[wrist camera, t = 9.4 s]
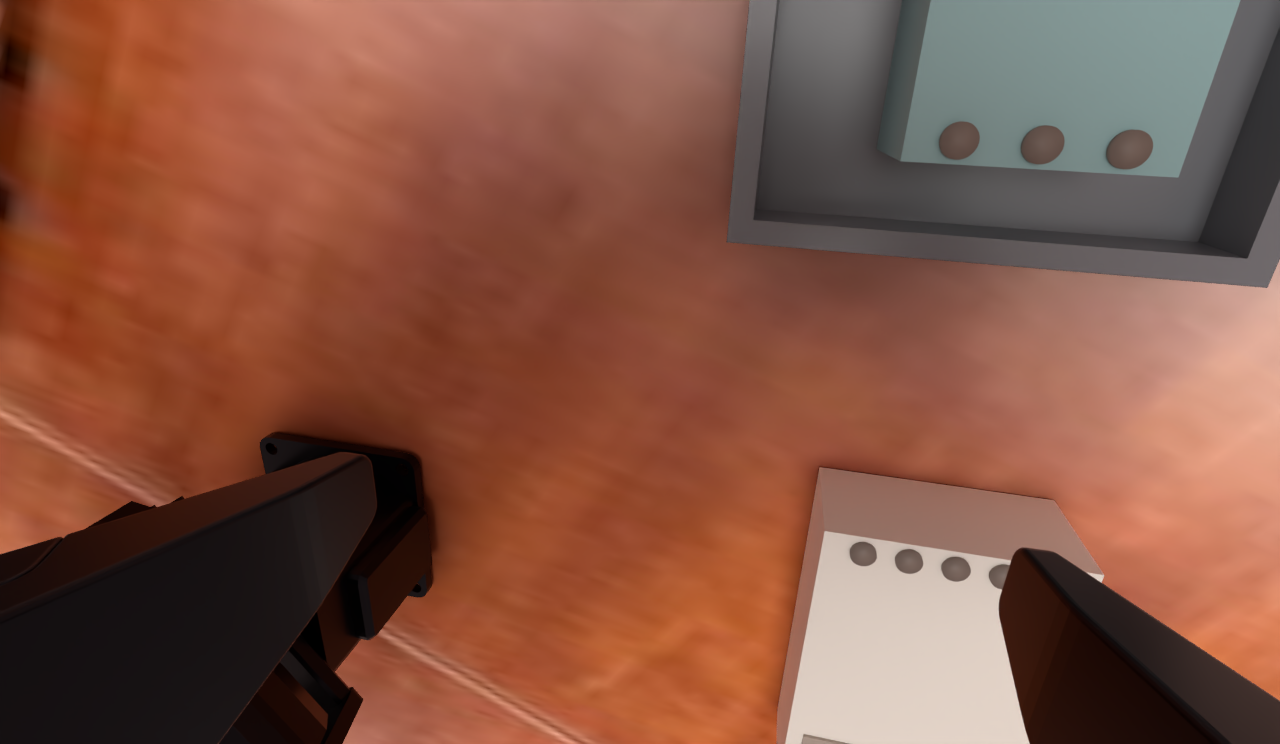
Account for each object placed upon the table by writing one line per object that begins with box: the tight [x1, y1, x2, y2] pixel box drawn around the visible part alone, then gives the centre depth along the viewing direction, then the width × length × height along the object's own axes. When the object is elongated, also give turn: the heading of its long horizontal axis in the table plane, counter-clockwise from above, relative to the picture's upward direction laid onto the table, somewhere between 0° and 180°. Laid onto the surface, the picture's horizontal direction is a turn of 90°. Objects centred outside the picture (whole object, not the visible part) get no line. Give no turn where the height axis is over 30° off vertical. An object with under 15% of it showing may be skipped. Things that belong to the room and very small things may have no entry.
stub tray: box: [727, 0, 1280, 288], centre depth 15 cm, size 12×9×2 cm
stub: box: [877, 0, 1241, 178], centre depth 14 cm, size 5×4×4 cm
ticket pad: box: [777, 467, 1104, 744], centre depth 21 cm, size 7×11×4 cm, turn 178°
